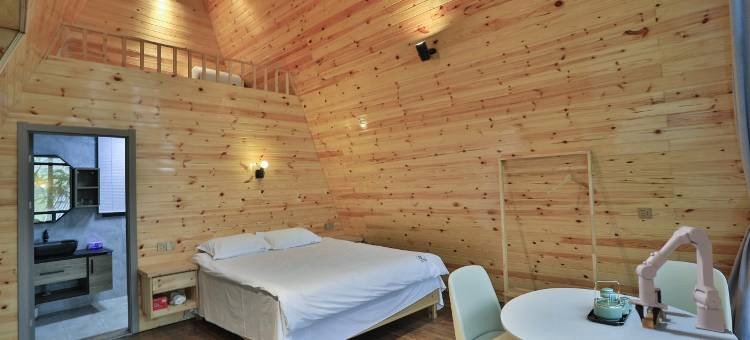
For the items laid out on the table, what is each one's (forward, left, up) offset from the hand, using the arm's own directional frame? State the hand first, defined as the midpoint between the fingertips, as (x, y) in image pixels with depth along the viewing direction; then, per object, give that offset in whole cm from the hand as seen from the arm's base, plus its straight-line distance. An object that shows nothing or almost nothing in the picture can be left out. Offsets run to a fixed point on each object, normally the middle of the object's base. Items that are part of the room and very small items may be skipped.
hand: (648, 323), depth 183 cm
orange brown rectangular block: (0, -4, -2) cm, 4 cm away
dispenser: (0, -14, -2) cm, 15 cm away
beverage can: (+3, -26, -2) cm, 27 cm away
